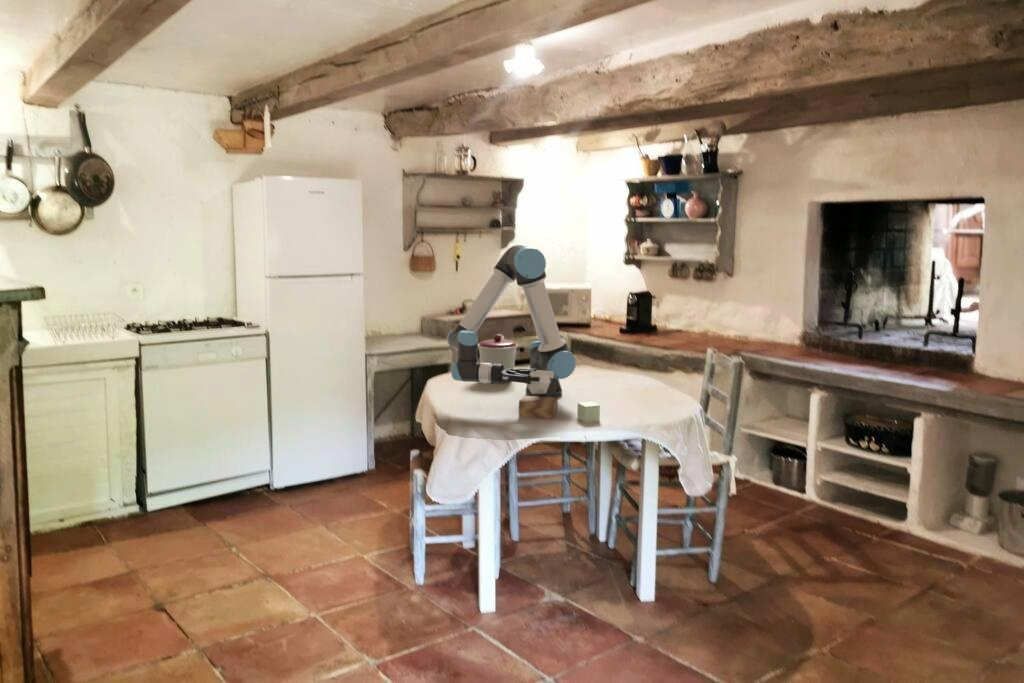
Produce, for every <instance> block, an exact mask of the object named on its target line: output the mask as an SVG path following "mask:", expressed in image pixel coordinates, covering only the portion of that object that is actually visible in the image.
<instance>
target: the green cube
mask: <svg viewBox="0 0 1024 683" xmlns="http://www.w3.org/2000/svg"><path fill="white" fill-rule="evenodd" d="M600 408H601V406H600V404H599V403H596V402H594V401H584V402H577V413H576V414H577V416H576V417H577V419H578V420H579V419H580V420H579V421H581V420H582V421H581V422H583V421H584V423H592V422H591V421H594V422H600V420H601V419H600V415H601V412H600V411H601V409H600Z"/></svg>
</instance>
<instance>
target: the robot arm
mask: <svg viewBox="0 0 1024 683" xmlns="http://www.w3.org/2000/svg"><path fill="white" fill-rule="evenodd" d="M546 267H547V261H546V257H545V255H544V254H543V252H541V250H540V249H538V248H536V247H534V246H532V245H531V246H529V245H521V244H516V245H513V246H511V247H509V248H507V250H506V251H505V252H504V253H503V254H502V255H501V257H500V258H499V260H498V261H497V262H496V264H495V266H494V267H493V273H492V275H491V276H490V278H489V279H488V281H487V282H486V283H485V285H484V287H483V288H482V289H481V291H480V292H479V294H478V295H477V297H476V298H475V300H474V301H473V302H472V304H471V305H470V307H469V309H468V310H467V311H466V312H465V314H464V316H463V317H462V319H461V320H460V322H459V323H458V324H457V326H456V327H455V329H452V330H451V331H449V332H448V333H447V336H446V342H447V343H448V345H449V346H450V347H451V348H452V349H453V350H455V351H457V360H455V361H453V363H452V365H451V373H450V374H451V378H452V379H453V380H454V381H458V382H459V381H460V382H466V383H467V382H468V383H469V382H473V383H483V384H484V385H487V384H491V383H492V384H497V385H499V384H502V383H504V382H503V381H507V382H512V383H522V384H526V383H528V384H531V382H536V383H549V379H550V380H551V382H550V385H549V387H548V389H547V392H546V394H532V393H531V391H530V390H529V388H528V386H527V385H526V388H525V396H537V397H553V398H558V399H559V398H560V397H562V396H563V389H562V386H561V383H560V380H563V379H566V378H568V377H570V376H571V375H572V374H573V373H574V371H575V369H576V364H577V360H576V357H575V355H574V354H573V353H572V352H571V351H570V349H569V347H568V344H567V341H566V339H564V338H562V337H561V333H560V331H559V327H558V323H557V320H556V317H555V313H554V311H553V307H552V303H551V301H550V297H549V294H548V290H547V288H546V284H545V280H546V278H547V274H546V271H545V269H546ZM515 281H516V285H517V286H519V287H521V289H522V290H523V294H524V297H525V300H526V303H527V306H528V309H529V312H530V316H531V319H532V322H533V325H534V328H535V331H536V332H535V333H536V335H537V338H538V340H534V341H531V342H530V346H529V347H530V348H529V368H521V367H517V368H516V367H514V368H508V370H505V369H504V366H503V365H502V364H492V363H481V362H480V361H479V362H478V354H479V347H478V344H479V337H478V332H477V331H478V330H479V328H480V327H481V326H482V324H484V323H483V322H484V321H485V320H486V318H487V317H488V315H490V312H491V311H492V309H493V308H494V307H495V305H496V303H497V302H498V301H499V299H500V298H501V296H503V294H504V292H505V291H506V289H507V288H508V286H509V285H510V284H513V283H514V282H515ZM531 371H545V372H546V374H547V376H545V375H530V372H531Z"/></svg>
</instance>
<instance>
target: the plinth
mask: <svg viewBox="0 0 1024 683" xmlns="http://www.w3.org/2000/svg"><path fill="white" fill-rule="evenodd" d="M558 403H559V397H558V398H553V397H537V396H526V395H523V397H522V398H521V399H520V400H519V401H518V417H519V418H530V419H531V418H532V419H545V420H554V419H555V418H556V416H557V415H558V414H559V412H558V408H559V404H558Z"/></svg>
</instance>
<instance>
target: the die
mask: <svg viewBox="0 0 1024 683" xmlns="http://www.w3.org/2000/svg"><path fill="white" fill-rule="evenodd" d="M530 375H545V376H547V374H546V372H545V371H531V372H530ZM550 382H551V380H550V379H549V383H536V382H531V384H528V383H525V384H526V387H527V386H528V388H529V390H530V391H531V393H532V394H546V392H547V389H548V387H549V385H550Z"/></svg>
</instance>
